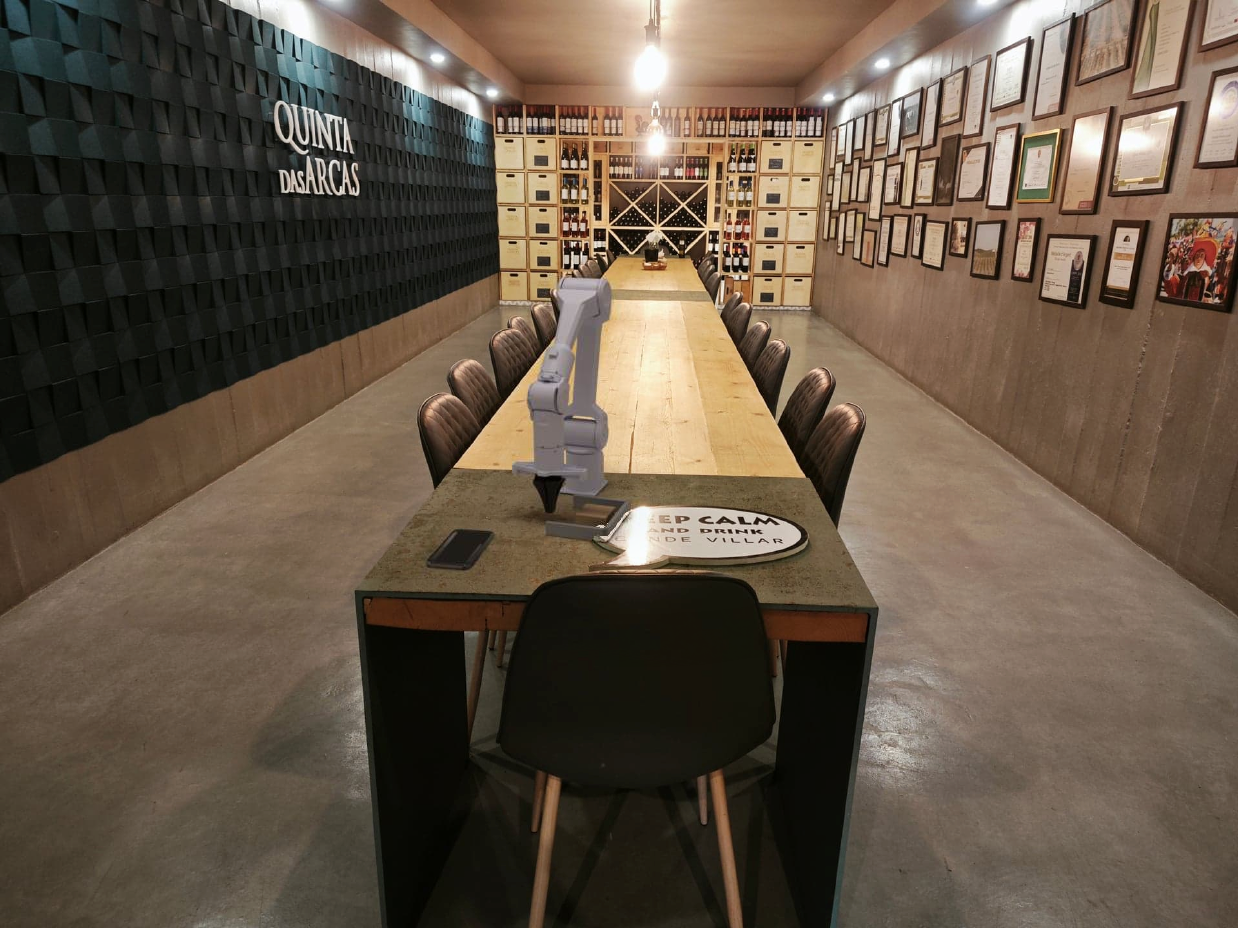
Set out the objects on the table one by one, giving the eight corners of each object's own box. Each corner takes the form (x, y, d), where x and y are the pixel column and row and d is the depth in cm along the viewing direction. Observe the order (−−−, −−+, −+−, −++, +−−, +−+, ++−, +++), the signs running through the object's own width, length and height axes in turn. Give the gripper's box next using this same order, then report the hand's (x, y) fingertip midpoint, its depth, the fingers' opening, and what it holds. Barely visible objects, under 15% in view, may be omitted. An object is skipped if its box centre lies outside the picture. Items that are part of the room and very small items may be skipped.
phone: (424, 563, 131) (455, 528, 145) (424, 569, 131) (455, 533, 145) (469, 566, 130) (496, 531, 144) (469, 572, 130) (496, 536, 144)
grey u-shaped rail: (574, 505, 159) (574, 494, 158) (630, 512, 155) (630, 500, 155) (545, 534, 144) (545, 522, 144) (606, 542, 141) (606, 530, 140)
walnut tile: (586, 517, 153) (585, 503, 152) (615, 521, 152) (615, 507, 151) (575, 529, 148) (575, 514, 147) (605, 533, 146) (605, 518, 145)
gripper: (504, 446, 145) (507, 514, 150) (578, 453, 142) (579, 523, 146) (519, 436, 152) (521, 502, 156) (590, 443, 148) (590, 510, 152)
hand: (550, 511), depth 152 cm, fingers closed
